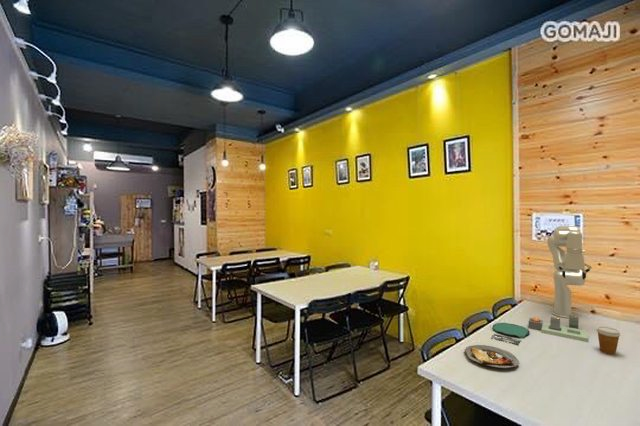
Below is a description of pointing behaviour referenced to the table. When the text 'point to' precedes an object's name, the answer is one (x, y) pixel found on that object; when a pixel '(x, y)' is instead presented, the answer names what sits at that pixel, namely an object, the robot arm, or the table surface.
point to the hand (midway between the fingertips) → (573, 278)
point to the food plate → (491, 356)
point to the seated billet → (555, 323)
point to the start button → (535, 319)
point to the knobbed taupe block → (573, 321)
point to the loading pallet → (563, 332)
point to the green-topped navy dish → (510, 331)
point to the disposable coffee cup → (608, 339)
